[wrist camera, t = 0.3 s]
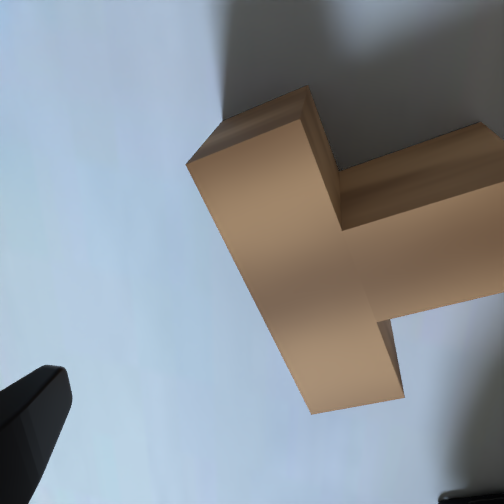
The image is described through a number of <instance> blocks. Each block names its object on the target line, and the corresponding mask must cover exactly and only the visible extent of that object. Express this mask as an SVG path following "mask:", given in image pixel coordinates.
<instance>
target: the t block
mask: <svg viewBox="0 0 504 504" xmlns="http://www.w3.org/2000/svg"><path fill="white" fill-rule="evenodd" d="M186 166H187V168H188V170H189V172H190V174H191V176H192V178H193V180H194V182H195V184H196V186H197V188H198V190H199V192H200V194H201V196H202V198H203V200H204V202H205V204H206V206H207V208H208V210H209V212H210V214H211V216H212V218H213V220H214V222H215V224H216V226H217V228H218V230H219V232H220V234H221V236H222V238H223V240H224V242H225V244H226V246H227V248H228V250H229V252H230V254H231V256H232V258H233V260H234V262H235V264H236V266H237V268H238V270H239V272H240V274H241V276H242V278H243V280H244V282H245V284H246V286H247V288H248V290H249V292H250V294H251V296H252V297H253V299H254V301H255V303H256V305H257V307H258V309H259V311H260V313H261V315H262V317H263V319H264V321H265V323H266V325H267V327H268V329H269V331H270V333H271V335H272V337H273V339H274V341H275V343H276V345H277V347H278V349H279V351H280V353H281V355H282V357H283V359H284V361H285V363H286V365H287V367H288V369H289V371H290V373H291V375H292V377H293V379H294V381H295V383H296V385H297V387H298V389H299V391H300V393H301V395H302V397H303V399H304V401H305V403H306V405H307V407H308V409H309V411H310V413H311V415H312V414H317V413H323V412H329V411H334V410H340V409H345V408H351V407H356V406H362V405H367V404H373V403H378V402H384V401H389V400H395V399H400V398H405V396H404V391H403V385H402V380H401V375H400V369H399V364H398V359H397V353H396V348H395V343H394V337H393V332H392V327H391V321H390V319H392V318H397V317H401V316H405V315H409V314H413V313H418V312H422V311H426V310H430V309H435V308H439V307H443V306H447V305H451V304H456V303H460V302H464V301H468V300H473V299H477V298H481V297H485V296H489V295H494V294H498V293H502V292H504V141H503V140H502V139H501V138H500V137H499V136H497V135H496V134H495V133H494V132H493V131H492V130H490V129H489V128H488V127H487V126H486V125H484V124H483V123H482V122H479V123H476V124H473V125H470V126H467V127H465V128H462V129H459V130H456V131H453V132H450V133H447V134H445V135H442V136H439V137H436V138H433V139H430V140H427V141H425V142H422V143H419V144H416V145H413V146H410V147H407V148H405V149H402V150H399V151H396V152H393V153H390V154H387V155H385V156H382V157H379V158H376V159H373V160H370V161H368V162H365V163H362V164H359V165H356V166H353V167H350V168H348V169H345V170H342V171H339V170H338V167H337V165H336V162H335V159H334V156H333V153H332V151H331V148H330V145H329V142H328V139H327V137H326V134H325V131H324V128H323V125H322V123H321V120H320V117H319V114H318V111H317V109H316V106H315V103H314V100H313V97H312V95H311V92H310V89H309V86H308V85H307V86H304V87H302V88H299V89H297V90H295V91H292V92H290V93H288V94H285V95H283V96H280V97H278V98H276V99H273V100H271V101H269V102H266V103H264V104H262V105H259V106H257V107H254V108H252V109H250V110H247V111H245V112H243V113H240V114H238V115H236V116H233V117H231V118H228V119H226V120H224V121H222V122H221V123H220V124H219V126H218V127H217V128H216V129H215V130H214V132H213V133H212V134H211V135H210V136H209V137H208V139H207V140H206V141H205V142H204V143H203V145H202V146H201V147H200V148H199V149H198V150H197V152H196V153H195V154H194V155H193V156H192V157H191V159H190V160H189V161H188V162H187V163H186Z"/></svg>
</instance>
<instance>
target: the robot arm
mask: <svg viewBox="0 0 504 504" xmlns="http://www.w3.org/2000/svg"><path fill="white" fill-rule="evenodd" d="M71 405H72V392H71V387H70V383H69V378H68V374H67V371H66V369H65V368H64V367H61V366H53V365H44V366H41V367H39V368H38V369H36V370H34V371H33V372H31V373H30V374H28V375H26V376H25V377H23V378H21V379H20V380H18V381H16V382H15V383H13V384H11V385H10V386H8V387H6V388H5V389H3V390H2V391H0V504H28V503H29V501H30V499H31V497H32V496H33V494H34V492H35V490H36V488H37V486H38V484H39V482H40V480H41V478H42V475H43V473H44V471H45V469H46V466H47V464H48V461H49V459H50V457H51V454H52V452H53V449H54V447H55V444H56V442H57V440H58V437H59V435H60V432H61V430H62V428H63V425H64V423H65V420H66V418H67V415H68V413H69V411H70V408H71ZM438 504H504V494H496V495H488V496H479V497H471V498H462V499H454V500H445V501H441V502H439V503H438Z"/></svg>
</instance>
